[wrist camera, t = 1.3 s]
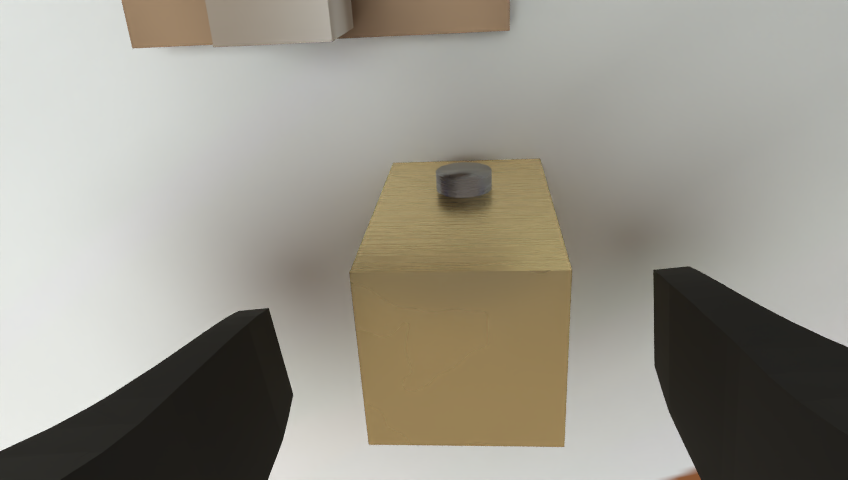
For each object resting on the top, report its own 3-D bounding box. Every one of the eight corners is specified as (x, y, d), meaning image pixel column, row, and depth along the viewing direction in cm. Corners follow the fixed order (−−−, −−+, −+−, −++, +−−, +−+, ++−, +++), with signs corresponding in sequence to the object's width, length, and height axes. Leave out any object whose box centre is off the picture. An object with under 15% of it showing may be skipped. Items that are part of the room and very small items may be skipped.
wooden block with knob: (540, 142, 16) (573, 247, 10) (537, 301, 17) (563, 463, 12) (391, 147, 16) (346, 251, 10) (403, 303, 18) (370, 460, 12)
